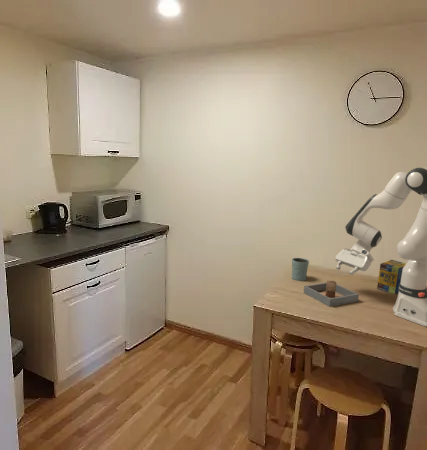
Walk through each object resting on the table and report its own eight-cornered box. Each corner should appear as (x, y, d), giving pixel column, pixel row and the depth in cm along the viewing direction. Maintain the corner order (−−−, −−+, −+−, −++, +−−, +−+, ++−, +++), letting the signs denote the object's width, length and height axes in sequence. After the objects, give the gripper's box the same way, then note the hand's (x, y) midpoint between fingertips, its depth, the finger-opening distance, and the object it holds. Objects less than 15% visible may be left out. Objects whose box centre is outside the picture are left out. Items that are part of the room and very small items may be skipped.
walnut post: (337, 297, 197) (338, 283, 195) (330, 298, 195) (331, 284, 193) (330, 293, 201) (331, 280, 200) (323, 295, 199) (324, 281, 198)
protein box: (376, 288, 214) (380, 263, 211) (387, 283, 224) (391, 259, 221) (394, 294, 207) (398, 268, 204) (405, 288, 217) (409, 263, 214)
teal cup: (295, 281, 220) (296, 262, 217) (287, 276, 229) (289, 257, 227) (310, 281, 222) (312, 262, 220) (301, 275, 232) (303, 257, 230)
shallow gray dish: (357, 301, 194) (358, 294, 193) (329, 306, 185) (330, 299, 184) (330, 288, 211) (331, 281, 211) (303, 292, 202) (304, 285, 202)
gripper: (341, 244, 209) (327, 262, 206) (371, 253, 191) (356, 273, 188) (346, 251, 212) (332, 269, 209) (376, 260, 194) (361, 280, 191)
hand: (343, 271), depth 198 cm, fingers open, 8 cm apart
